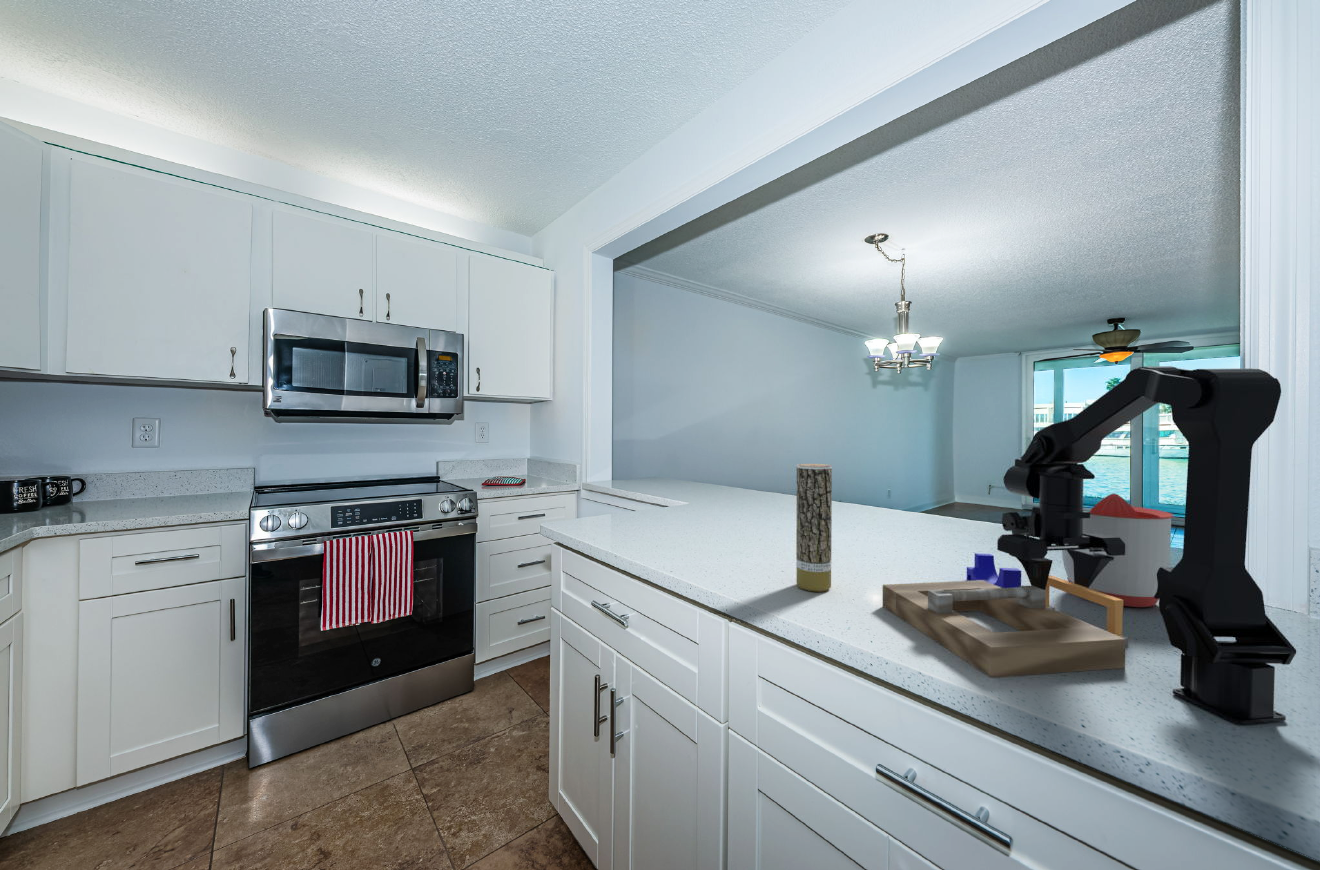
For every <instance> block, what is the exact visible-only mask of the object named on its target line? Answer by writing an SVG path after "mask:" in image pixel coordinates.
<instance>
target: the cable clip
mask: <svg viewBox="0 0 1320 870" xmlns="http://www.w3.org/2000/svg"><path fill="white" fill-rule="evenodd" d="M994 557H995V556H994V555H993V554H991V553H978V552H977V553H976V552H975V553H974V566H973V567H972V566H966V581H976V580H984V581H986V582H989V583H991V584H994V585H996V586H998V587H1001V588H1016V587H1019V586H1022V570H1021V569H1019V568H1013V567H999V570H998V571H999V572H997V570H996V565H995V558H994Z"/></svg>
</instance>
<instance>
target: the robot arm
mask: <svg viewBox="0 0 1320 870" xmlns="http://www.w3.org/2000/svg"><path fill="white" fill-rule="evenodd" d="M1281 386H1282V385H1281V383H1280V382H1279V379H1278V378H1277V377H1274V376H1272V375H1271V374H1270V373H1269V372H1268V371H1265V370H1262V369H1260V368H1197V369H1185V368H1178V367H1175V366H1169V365H1167V366H1164V365H1163V366H1162V365H1161V366H1159V365H1158V366H1150V365H1149V366H1140V367H1137V368H1133V369H1132V370H1130V371H1129V372H1128V373H1127V374H1126V376H1125V378H1124V379H1123V380H1122V381H1120V382H1119V383H1117V384H1116V385H1115V386H1114V387H1112V388H1110V390H1108V391H1107V392H1105V393H1104V394H1103V395H1102V396H1100V397H1099V398H1098V399H1096V400H1095V401H1093V402H1092V403H1090V404H1089V405H1087V407H1086V408H1084V409H1083V410H1081V411H1080V412H1078V413H1077V414H1076V415H1074V416H1073V417H1071V418H1069V419H1067V420H1063V421H1059V422H1056V423H1052V424H1049V425H1048V426H1045V427H1044V428H1042V429H1040V430H1038V431H1037V432H1036V433H1034V436H1033V438H1032V440H1031V442H1030V444H1029V445H1028V446H1027V449H1026V450H1025V452H1024V453H1023V455H1022V456H1021V457H1020V458H1015V459H1014V465H1013V466H1010V467H1009V468H1008V469H1007V471H1006V472H1005V474H1004V476H1003V479H1002V480H1003V484H1004V487H1005V488H1006V490H1007V491H1008V492H1009V493H1012V494H1014V495H1018V496H1025V497H1028V498H1033V499H1037V500H1039V501H1038V506H1032V508H1031V510H1030V513H1031V514H1030V515H1026V516H1025V515H1020V513H1018V511H1011V512H1010V511H1009V512H1008V511H1007V512H1004V513H1003V512H1002V518H1001V524H1002V529H1003V531H1006V532H1011V534H1009V533H1008V534H1001V535H1000V536H999V537H998V538H997V543H996V544H997V546H996V547H997V551H999V552H1003V553H1005V554H1008V555H1009V556H1011V557H1013V558H1016V560H1017V561H1018V562H1020V564H1021V565H1022V568H1023V569H1024V571H1025V573H1026V576H1027V578H1028V581H1029V584H1030V586H1035V587H1038V588H1040V589H1043V590H1045V589H1046V585H1047V581H1048V577H1049V575H1050V572H1051V570H1052V569H1051V568H1052V565H1053V561H1054V560H1053V559H1049V558H1047V557H1046V556H1047V555H1048V552H1051V551H1062V550H1067V551H1068V553H1069V555H1070V556H1071V558H1072V559H1073V562H1074V583H1075V584H1078V585H1080V586H1083V587H1086V588H1089V587H1090V585H1091V584H1092V582H1093V581H1094V580H1095V578H1096V577H1097V576H1098V574H1099V573H1100V572H1101V571H1102V570H1103V569H1104V567H1105V566H1106V565H1107V564H1108V563H1109V562H1110V561H1113V560H1114V557H1111V556H1118V555H1125V543H1124V542H1123V541H1122V540H1121V538H1120V537H1115V536H1111V535H1106V534H1102V533H1097V532H1083V518H1090V511H1086V510H1084V480H1095V478H1096V476H1095V474H1094V473H1093V472H1092V471H1090V470H1089V469H1087V468H1086V466H1085V465H1084V464H1083V463H1086V462H1087V461H1089V460H1090V459H1091V458H1092V457H1093V456H1095V454H1096V453H1098V452H1099V450H1100V449H1101V447H1102V441H1103V440H1104V439H1105V438H1107V436H1109V435H1110V434H1112V433H1114V432H1115V431H1117V430H1118V429H1120V428H1121V427H1123V426H1125V425H1126V424H1128V423H1129V422H1130V421H1133V420H1134V419H1135V418H1137V417H1138V416H1140V415H1141V414H1143V413H1145V412H1146V411H1148V410H1150V409H1151V408H1152V407H1154V406H1155V405H1157V404H1158V403H1159V404H1164V405H1168V406H1170V411H1171V417H1172V418H1171V419H1172V422H1173V424H1174V425H1175V426H1176V427H1177V429H1178V431H1179V432H1180V433H1181V434H1182V436H1183V437H1184V438H1185V440H1186V441H1187V444H1188V453H1187V454H1188V455H1187V473H1186V476H1187V477H1186V491H1185V493H1186V494H1185V508H1184V512H1185V513H1184V527H1183V544H1182V545H1183V548H1182V557H1181V559H1180V560H1179V561H1178V563H1176V564H1175V566H1173V567H1171V566H1170V567H1160V568H1159V569H1158V572H1157V582H1158V587H1157V592H1156V594H1155V596H1154V598H1155V599H1159V600H1158V609H1159V612H1160V615H1161V616H1162V619H1163V623H1164V626H1165V629H1166V633H1167V635H1168V636H1167V637H1168V639H1169V643H1170V646H1172V647H1174V648H1176V649H1178V650H1179V651H1180V652H1181V654H1180V669H1179V670H1180V678H1179V681H1180V683H1179V684H1180V686H1181V687H1180V688H1172V694H1173V695H1175V696H1177V697H1180V698H1181V699H1184V700H1186V701H1187V702H1190V703H1191V704H1194V705H1195V706H1198V707H1200V708H1202V709H1204V710H1206V711H1208V712H1211V713H1213V714H1214V715H1217V716H1219V717H1221V718H1224V719H1226V720H1227V721H1230V722H1232V723H1234V724H1237V725H1250V724H1252V725H1253V724H1262V723H1276V722H1285V721H1286V719H1287V718H1286V717H1287V716H1286V715H1284V714H1282V713H1280V712H1278V711H1276V710H1275V680H1276V679H1275V678H1276V677H1275V675H1276V674H1275V671H1276V667H1275V666H1274V665H1271V664H1276V665H1277V664H1278V665H1279V664H1281V665H1285V666H1286V665H1287V666H1288V665H1290V664H1291V663H1292V661H1293V659H1294V658H1295V655H1296V654H1297V649H1296V648H1295V647H1294V645H1293V644H1292V643H1291V642H1290V641H1289V640H1288V638H1287V637H1286V636H1285V635H1284V634H1283V632H1281V631H1280V629H1279V628H1278V627H1277V626H1276V625H1275V624H1274V622H1273V621H1272V620H1271V619H1270V618H1269V616H1267V613H1266V609H1265V601H1264V594H1263V591H1262V590H1261V588H1260V587H1259V585H1258V584H1257V582H1256V581H1255V579H1254V578H1253V576H1252V575H1251V574H1250V573H1249V571H1248V570H1247V568H1246V552H1247V551H1246V549H1247V535H1248V534H1247V533H1248V522H1249V521H1248V520H1249V518H1248V517H1249V502H1250V501H1249V500H1250V487H1251V471H1252V470H1251V469H1252V453H1253V447H1254V444H1256V441H1258V440H1259V438H1260V437H1261V436H1262V435H1263V433H1265V431H1266V430H1268V428H1269V427H1270V426H1271V424H1273V423H1274V420H1275V417H1276V413H1277V411H1278V406H1279V403H1280V399H1281V396H1282V387H1281ZM1065 544H1068V545H1065ZM1106 553H1107V554H1108V555H1110V556H1108V555H1106ZM1216 638H1234V639H1235V640H1232V641H1231V640H1217V639H1216Z"/></svg>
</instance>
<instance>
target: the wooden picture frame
mask: <svg viewBox="0 0 1320 870" xmlns="http://www.w3.org/2000/svg"><path fill="white" fill-rule="evenodd" d="M1045 596H1046V590H1043V589H1040V588H1038V587H1035V586H1031V585H1021V586H1019V587H1016V588H1001V587H998V586H996V585H994V584H991V583H989V582H986V581H984V580H976V581H967V580H958V581H953V580H952V581H935V582H934V581H933V582H914V583H913V582H912V583H909V582H908V583H892V584H882V607H883V608H884V609H886V610H888V612H890V613H892V614H893V613H894V614H893V615H895V616H896V615H897V616H896V617H897V618H899V617H900V619H901V620H903V621H904V622H906V623H907V622H908V623H907V624H909V625H910V626H912V627H913V628H915V629H916V628H917V629H916V630H918V631H919V630H920V631H919V632H921V631H922V632H923V633H922V632H921V633H922V634H924V635H925V634H926V636H927V637H928V638H930V639H931V640H933V641H935V642H936V643H938V644H939V645H941V646H943V647H944V648H945V649H946V650H949V651H950V652H951V651H952V653H953V654H954V653H955V654H954V655H956V656H957V655H958V656H957V657H959V658H960V659H962V660H964V661H965V660H966V661H965V662H966V663H968V662H969V663H968V664H970V665H971V664H972V665H971V666H972V667H975V668H976V669H977V668H978V670H979V671H980V670H981V671H980V672H982V671H983V672H982V673H983V674H985V673H986V674H987V676H988V675H989V676H988V677H990V678H1002V677H1017V676H1030V675H1031V676H1032V675H1044V674H1059V673H1072V672H1073V673H1074V672H1087V671H1102V670H1113V669H1114V670H1115V669H1117V670H1119V669H1125V668H1126V646H1125V643H1126V639H1124V638H1122V637H1120V636H1117V635H1115V634H1112V633H1110V632H1107V630H1105V629H1102V628H1100V627H1098V626H1096V625H1092V624H1090V623H1088V622H1087V621H1083V620H1081V619H1078V618H1076V617H1074V616H1071V615H1068V614H1067V613H1064V612H1061V611H1058V610H1056V609H1055V610H1054V609H1052V608H1049V607H1047V606H1045ZM976 611H979V612H982V613H983V614H985V615H988V616H990V617H991V618H994V619H996V620H998V621H1000V622H1002V623H1003V624H1006V625H1008V626H1010V627H1012V628H1014V629H1016V630H1018V631H1003V632H994V631H993V630H990V629H989V628H987V627H984V626H983V625H981V624H979V623H977V622H975V621H974V620H972V619H970V618H968V617H967V616H964V615H962V614H961V613H959V612H976ZM986 674H985V675H986Z"/></svg>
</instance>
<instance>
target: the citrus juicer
mask: <svg viewBox="0 0 1320 870" xmlns="http://www.w3.org/2000/svg"><path fill="white" fill-rule="evenodd" d="M1089 512H1090V518H1083V532H1097V533H1102V534H1106V535H1111V536H1115V537H1120V538H1121V540H1122V541H1123V542H1124V543H1125V555H1118V556H1111V557H1114V560H1113V561H1110V562H1109V563H1108V564H1107V565H1106V566H1105V567H1104V569H1103V570H1102V571H1101V572H1100V573H1099V574H1098V576H1097V577H1096V578H1095V580H1094V581H1093V582H1092V584H1091V585H1090V587H1089V589H1092V590H1095V591H1098V592H1101V593H1104V594H1107V595H1110V596H1113V597H1116V598H1119V599H1122V600H1123V607H1124V606H1125V607H1133V608H1149V607H1153V606H1156V604H1157V603H1158V602H1159V599H1155V598H1154V596H1155V594H1156V592H1157V587H1158V582H1157V572H1158V569H1159V568H1160V567H1171V566H1170V565H1171V544H1172V543H1171V541H1172V540H1171V539H1172V535H1171V534H1172V518H1174V514H1173V513H1171V512H1167V511H1164V510H1160V509H1159V510H1158V509H1152V508H1147V507H1139V506H1132V505H1131V504H1130V503H1129V502H1127V500H1125V499H1124V498H1123V497H1121V496H1120V495H1119V494H1117V493H1110V494H1108V495H1107V496H1105V497H1103V498H1102V499H1101V500H1100V501H1098V502H1097V503H1096V504H1095V505H1094V506H1093V507H1092V508H1091V510H1090V511H1089ZM1065 545H1068V544H1065ZM1061 554H1062V555H1061V556H1062V561H1063V567H1064V568H1063V569H1064V570H1065V574H1066V576H1067V581H1069V582H1072V583H1074V562H1073V559H1072V558H1071V556H1070V555H1069V553H1068V551H1067V550H1061ZM1106 555H1108V554H1107V553H1106ZM1108 556H1110V555H1108Z"/></svg>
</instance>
